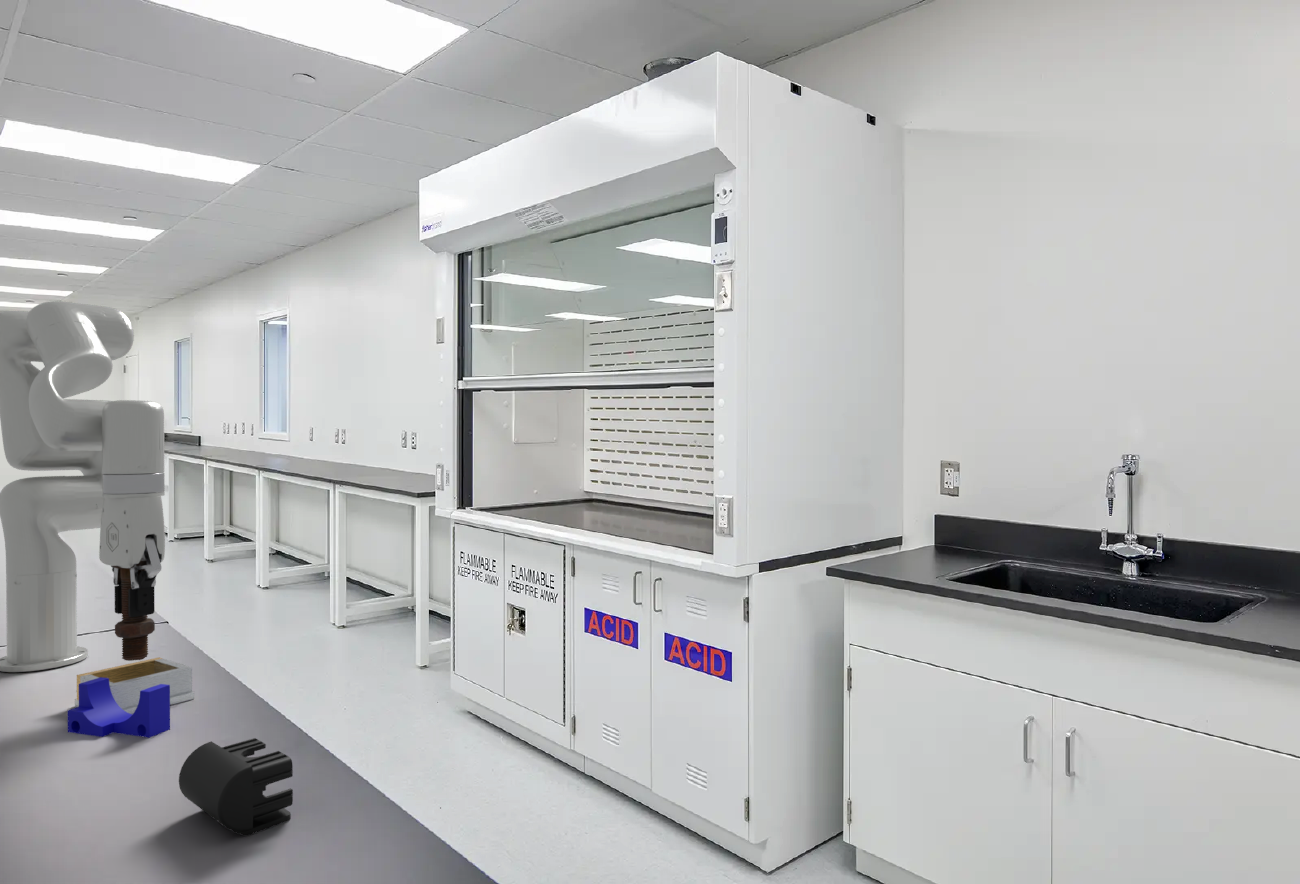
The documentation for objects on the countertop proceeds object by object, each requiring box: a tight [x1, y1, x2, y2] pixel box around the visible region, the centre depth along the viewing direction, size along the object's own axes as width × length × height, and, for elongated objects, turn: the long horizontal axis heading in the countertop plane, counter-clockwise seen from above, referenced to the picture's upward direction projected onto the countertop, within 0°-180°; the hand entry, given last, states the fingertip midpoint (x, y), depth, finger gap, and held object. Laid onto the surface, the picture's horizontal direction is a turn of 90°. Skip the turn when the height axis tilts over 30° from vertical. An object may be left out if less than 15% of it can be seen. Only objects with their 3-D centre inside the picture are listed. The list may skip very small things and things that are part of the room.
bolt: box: [110, 561, 156, 662], centre depth 114 cm, size 6×5×15 cm
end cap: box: [178, 737, 294, 837], centre depth 79 cm, size 10×7×7 cm
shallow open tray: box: [74, 657, 195, 714], centre depth 114 cm, size 11×11×4 cm
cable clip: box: [66, 677, 171, 739], centre depth 103 cm, size 12×4×6 cm, turn 73°
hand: (134, 612), depth 114 cm, fingers closed on bolt, 3 cm apart
